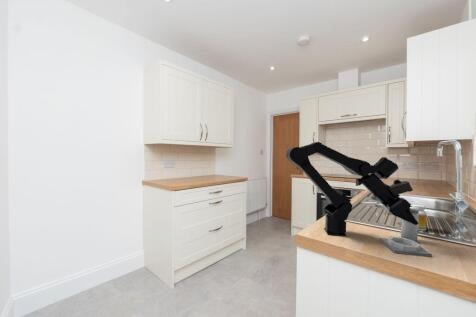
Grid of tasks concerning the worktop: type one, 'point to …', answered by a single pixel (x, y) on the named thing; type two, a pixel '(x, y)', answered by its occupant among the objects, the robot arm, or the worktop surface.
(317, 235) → the worktop surface
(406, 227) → the canister
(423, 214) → the supplement bottle
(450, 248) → the worktop surface
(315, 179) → the robot arm
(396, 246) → the ring socket board
